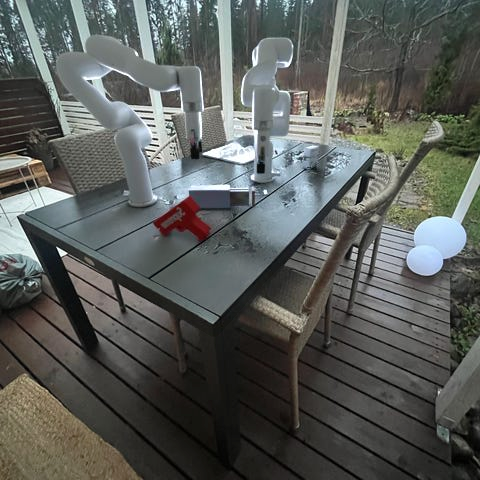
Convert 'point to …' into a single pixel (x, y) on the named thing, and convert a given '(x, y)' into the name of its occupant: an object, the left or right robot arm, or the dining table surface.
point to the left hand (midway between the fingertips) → (197, 155)
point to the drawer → (244, 196)
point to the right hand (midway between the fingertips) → (260, 172)
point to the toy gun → (183, 220)
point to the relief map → (232, 153)
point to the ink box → (310, 156)
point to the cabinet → (211, 196)
